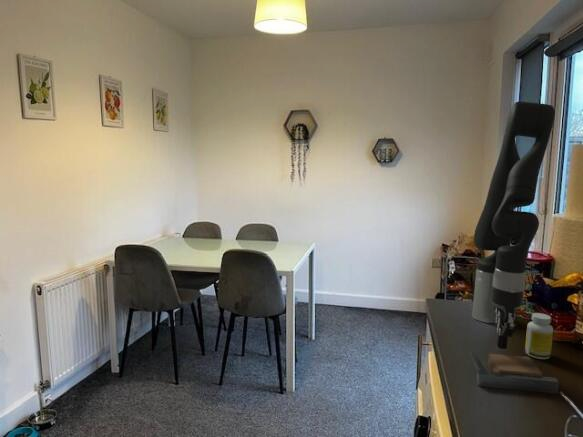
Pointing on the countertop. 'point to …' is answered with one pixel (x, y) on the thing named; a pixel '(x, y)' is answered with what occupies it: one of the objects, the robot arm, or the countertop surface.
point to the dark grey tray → (513, 380)
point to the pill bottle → (539, 336)
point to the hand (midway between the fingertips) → (501, 347)
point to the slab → (513, 365)
